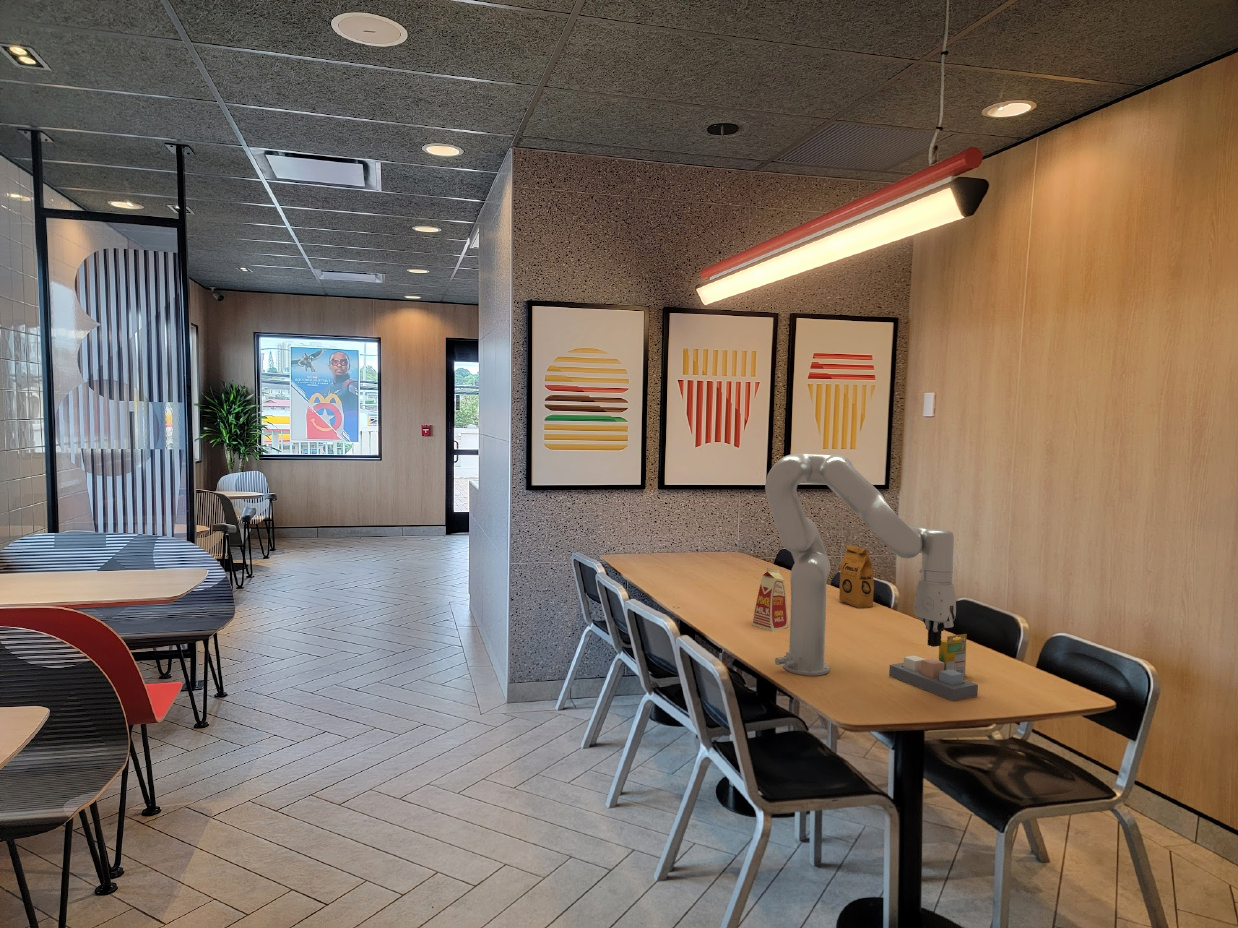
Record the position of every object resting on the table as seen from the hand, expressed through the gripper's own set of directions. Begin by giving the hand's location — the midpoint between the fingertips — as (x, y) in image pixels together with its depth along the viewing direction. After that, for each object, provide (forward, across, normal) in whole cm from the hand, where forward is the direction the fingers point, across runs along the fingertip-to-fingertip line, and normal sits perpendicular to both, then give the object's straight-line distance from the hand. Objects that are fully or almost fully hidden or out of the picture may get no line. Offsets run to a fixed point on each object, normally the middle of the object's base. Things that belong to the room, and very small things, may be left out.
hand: (934, 645), depth 208 cm
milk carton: (+11, -65, -3) cm, 66 cm away
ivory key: (+9, -6, 0) cm, 11 cm away
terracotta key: (+8, 0, 0) cm, 8 cm away
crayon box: (+11, -4, +12) cm, 17 cm away
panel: (+11, 0, 0) cm, 11 cm away
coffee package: (+11, -78, +47) cm, 92 cm away
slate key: (+10, +6, 0) cm, 11 cm away
